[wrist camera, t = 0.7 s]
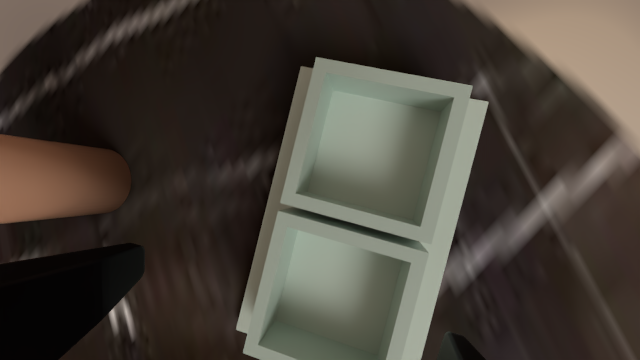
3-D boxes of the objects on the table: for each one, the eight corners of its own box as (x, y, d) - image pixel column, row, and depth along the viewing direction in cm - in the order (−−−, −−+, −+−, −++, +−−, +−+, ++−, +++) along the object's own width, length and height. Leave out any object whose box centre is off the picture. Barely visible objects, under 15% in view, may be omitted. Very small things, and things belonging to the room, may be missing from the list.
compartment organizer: (410, 383, 22) (419, 434, 17) (241, 323, 24) (211, 355, 19) (483, 105, 21) (512, 84, 17) (304, 71, 23) (287, 44, 19)
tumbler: (113, 226, 26) (-142, 265, 13) (65, 193, 27) (-218, 200, 14) (142, 167, 26) (-91, 150, 13) (92, 136, 26) (-172, 90, 14)
